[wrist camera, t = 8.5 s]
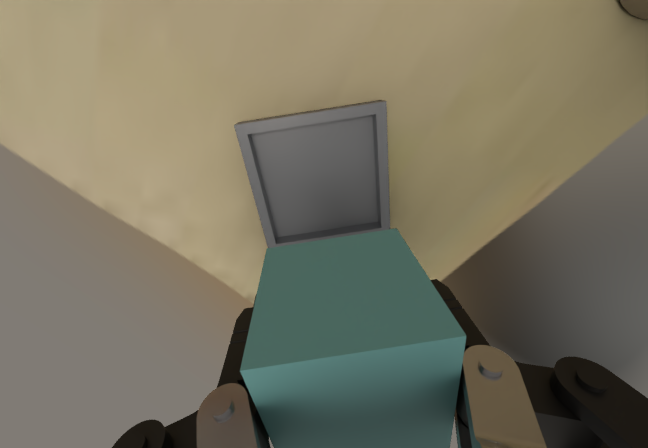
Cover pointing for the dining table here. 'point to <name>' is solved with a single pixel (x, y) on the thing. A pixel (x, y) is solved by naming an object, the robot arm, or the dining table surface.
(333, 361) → the teal cube
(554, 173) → the dining table surface
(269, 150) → the tray
